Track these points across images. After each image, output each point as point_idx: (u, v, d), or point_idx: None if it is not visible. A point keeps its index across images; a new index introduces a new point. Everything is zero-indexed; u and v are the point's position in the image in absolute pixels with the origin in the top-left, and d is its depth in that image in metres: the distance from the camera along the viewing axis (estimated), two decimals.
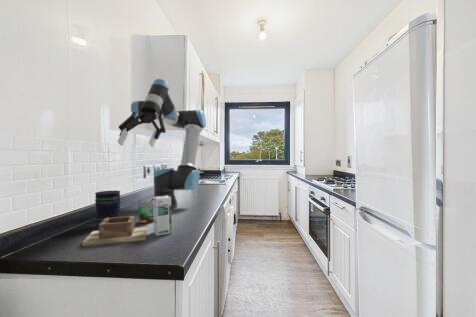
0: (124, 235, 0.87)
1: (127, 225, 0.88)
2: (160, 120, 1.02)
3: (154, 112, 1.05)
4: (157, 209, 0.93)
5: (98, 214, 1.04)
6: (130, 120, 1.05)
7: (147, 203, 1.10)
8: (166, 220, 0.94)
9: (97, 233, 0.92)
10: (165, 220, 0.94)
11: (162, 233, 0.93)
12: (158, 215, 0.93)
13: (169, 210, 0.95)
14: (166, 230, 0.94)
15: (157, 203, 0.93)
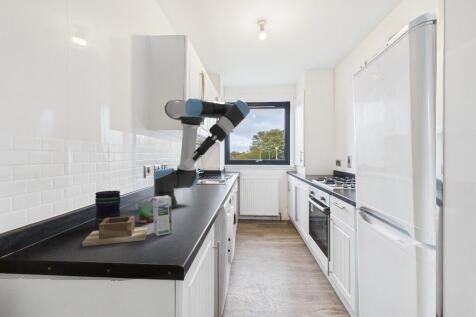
0: (124, 235, 0.87)
1: (127, 225, 0.88)
2: None
3: None
4: (157, 209, 0.93)
5: (98, 214, 1.04)
6: None
7: (147, 203, 1.10)
8: (166, 220, 0.94)
9: (97, 233, 0.92)
10: (165, 220, 0.94)
11: (162, 233, 0.93)
12: (158, 215, 0.93)
13: (169, 210, 0.95)
14: (166, 230, 0.94)
15: (157, 203, 0.93)
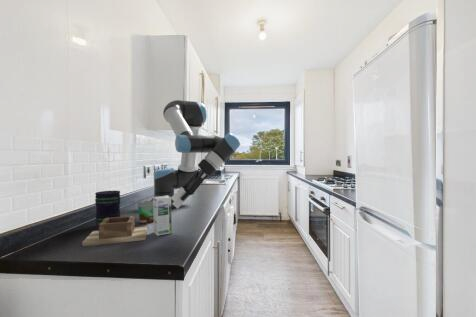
0: (124, 235, 0.87)
1: (127, 225, 0.88)
2: None
3: None
4: (157, 209, 0.93)
5: (98, 214, 1.04)
6: None
7: (147, 203, 1.10)
8: (166, 220, 0.94)
9: (97, 233, 0.92)
10: (165, 220, 0.94)
11: (162, 233, 0.93)
12: (158, 215, 0.93)
13: (169, 210, 0.95)
14: (166, 230, 0.94)
15: (157, 203, 0.93)
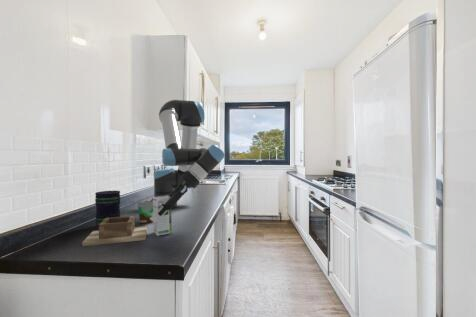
0: (124, 235, 0.87)
1: (127, 225, 0.88)
2: None
3: None
4: (157, 209, 0.93)
5: (98, 214, 1.04)
6: None
7: (147, 203, 1.10)
8: (166, 220, 0.94)
9: (97, 233, 0.92)
10: (165, 220, 0.94)
11: (162, 233, 0.93)
12: None
13: (169, 210, 0.95)
14: (166, 230, 0.94)
15: (157, 203, 0.93)
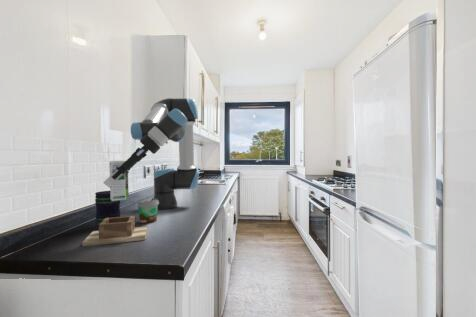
0: (124, 235, 0.87)
1: (127, 225, 0.88)
2: (137, 161, 0.99)
3: (147, 151, 0.98)
4: (112, 173, 0.88)
5: (98, 214, 1.04)
6: None
7: (147, 203, 1.10)
8: (122, 185, 0.90)
9: (97, 233, 0.92)
10: (121, 185, 0.89)
11: (117, 198, 0.89)
12: None
13: (125, 175, 0.90)
14: (122, 196, 0.90)
15: (112, 167, 0.88)
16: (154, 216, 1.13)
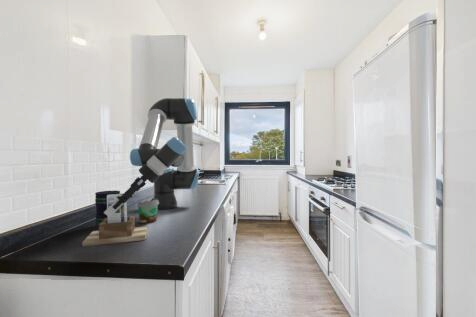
0: (124, 235, 0.87)
1: (127, 225, 0.88)
2: None
3: None
4: (107, 206, 0.89)
5: (98, 214, 1.04)
6: None
7: (147, 203, 1.10)
8: (118, 218, 0.89)
9: (97, 233, 0.92)
10: (116, 218, 0.89)
11: None
12: None
13: (121, 208, 0.90)
14: None
15: (107, 200, 0.89)
16: (154, 216, 1.13)
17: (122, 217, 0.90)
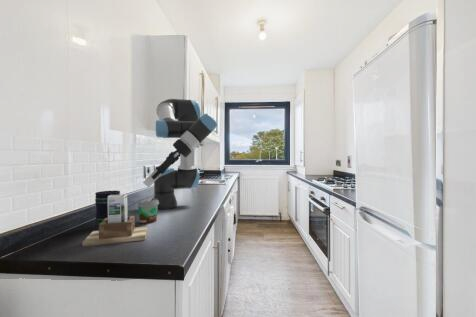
0: (124, 235, 0.87)
1: (127, 225, 0.88)
2: None
3: None
4: (108, 208, 0.89)
5: (98, 214, 1.04)
6: None
7: (147, 203, 1.10)
8: (118, 220, 0.89)
9: (97, 233, 0.92)
10: (117, 220, 0.89)
11: None
12: (109, 214, 0.89)
13: (121, 210, 0.89)
14: None
15: (108, 201, 0.89)
16: (154, 216, 1.13)
17: (122, 219, 0.89)
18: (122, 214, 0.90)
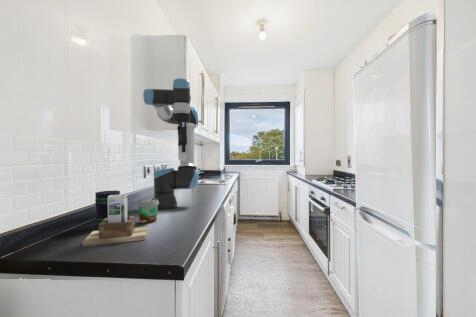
0: (124, 235, 0.87)
1: (127, 225, 0.88)
2: None
3: None
4: (108, 208, 0.89)
5: (98, 214, 1.04)
6: None
7: (147, 203, 1.10)
8: (118, 220, 0.89)
9: (97, 233, 0.92)
10: (117, 220, 0.89)
11: None
12: (109, 214, 0.89)
13: (121, 210, 0.89)
14: None
15: (108, 201, 0.89)
16: (154, 216, 1.13)
17: (122, 219, 0.89)
18: (122, 214, 0.90)
